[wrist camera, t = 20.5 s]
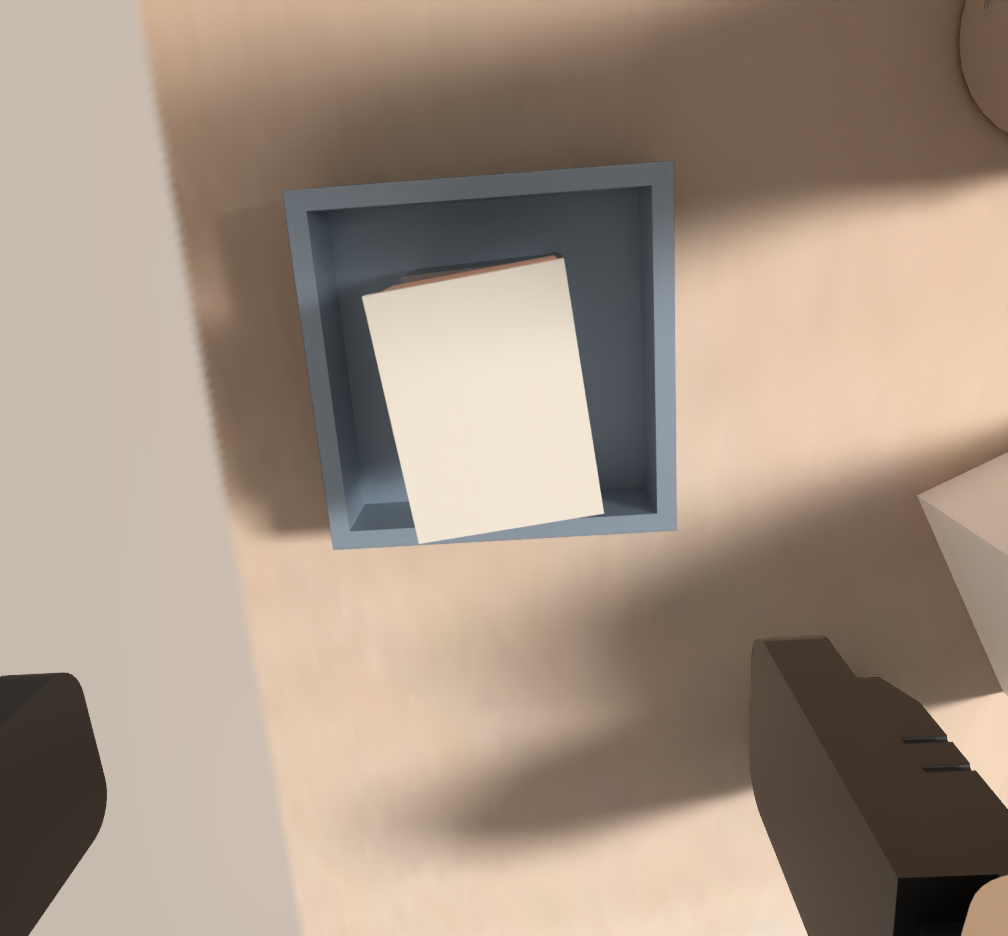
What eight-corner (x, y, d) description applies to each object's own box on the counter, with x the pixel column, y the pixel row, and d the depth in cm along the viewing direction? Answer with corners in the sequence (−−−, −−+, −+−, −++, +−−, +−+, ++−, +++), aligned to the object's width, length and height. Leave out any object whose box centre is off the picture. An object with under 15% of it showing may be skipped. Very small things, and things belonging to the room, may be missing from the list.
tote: (654, 167, 34) (673, 160, 30) (659, 495, 38) (676, 530, 34) (311, 194, 35) (282, 190, 30) (354, 513, 39) (333, 550, 35)
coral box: (556, 251, 29) (564, 258, 24) (590, 464, 32) (603, 513, 26) (390, 283, 30) (361, 296, 25) (436, 490, 32) (418, 544, 27)
